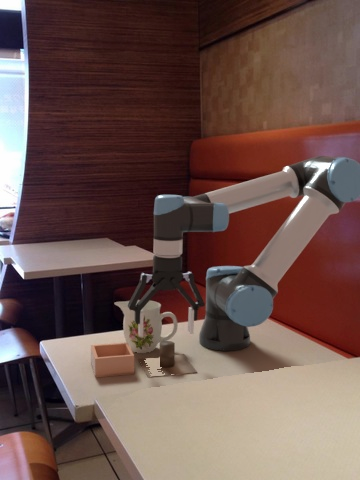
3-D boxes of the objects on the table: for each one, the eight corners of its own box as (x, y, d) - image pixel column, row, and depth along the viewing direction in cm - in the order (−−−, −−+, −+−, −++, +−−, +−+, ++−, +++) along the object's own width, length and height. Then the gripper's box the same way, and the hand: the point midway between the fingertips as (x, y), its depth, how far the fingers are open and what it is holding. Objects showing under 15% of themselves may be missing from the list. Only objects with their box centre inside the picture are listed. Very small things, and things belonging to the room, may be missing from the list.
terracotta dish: (127, 359, 162) (127, 342, 161) (134, 374, 152) (134, 355, 151) (91, 362, 159) (90, 345, 158) (95, 377, 150) (95, 358, 149)
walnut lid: (183, 356, 166) (184, 333, 165) (197, 374, 153) (197, 350, 152) (138, 361, 162) (138, 337, 161) (148, 379, 150) (148, 354, 149)
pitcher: (177, 356, 165) (178, 308, 162) (113, 356, 164) (112, 308, 162) (176, 342, 176) (177, 298, 173) (116, 342, 175) (115, 297, 173)
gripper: (209, 251, 159) (206, 326, 163) (117, 253, 153) (116, 331, 156) (218, 256, 152) (215, 335, 156) (122, 259, 146) (121, 341, 149)
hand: (165, 333), depth 156 cm, fingers open, 13 cm apart
